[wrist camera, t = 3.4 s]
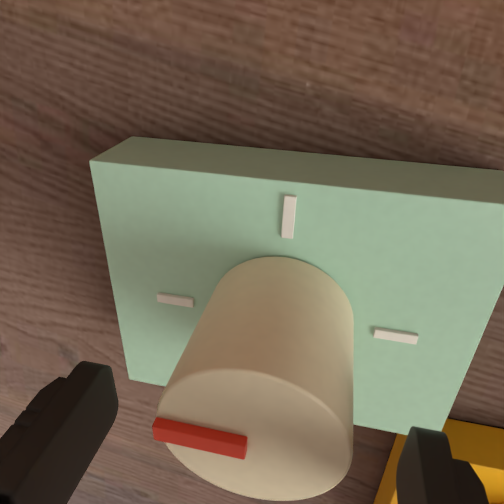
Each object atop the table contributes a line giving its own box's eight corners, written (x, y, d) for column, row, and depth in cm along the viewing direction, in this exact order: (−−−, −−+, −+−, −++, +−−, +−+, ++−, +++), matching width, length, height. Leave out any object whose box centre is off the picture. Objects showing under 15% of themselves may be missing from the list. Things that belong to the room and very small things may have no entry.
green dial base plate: (502, 170, 13) (539, 210, 11) (426, 382, 18) (438, 445, 16) (131, 135, 15) (85, 161, 13) (156, 334, 21) (126, 382, 18)
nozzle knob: (365, 266, 13) (371, 406, 8) (342, 379, 15) (337, 531, 11) (210, 245, 13) (139, 362, 9) (213, 355, 16) (159, 487, 12)
